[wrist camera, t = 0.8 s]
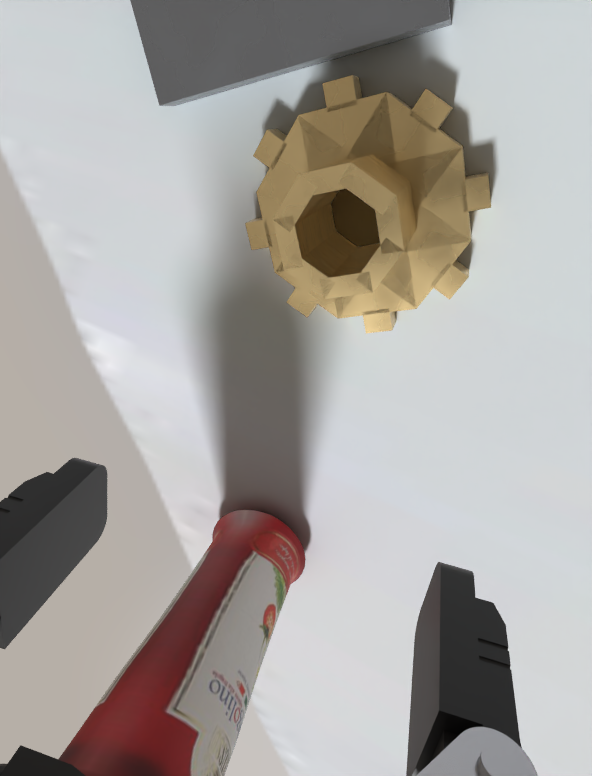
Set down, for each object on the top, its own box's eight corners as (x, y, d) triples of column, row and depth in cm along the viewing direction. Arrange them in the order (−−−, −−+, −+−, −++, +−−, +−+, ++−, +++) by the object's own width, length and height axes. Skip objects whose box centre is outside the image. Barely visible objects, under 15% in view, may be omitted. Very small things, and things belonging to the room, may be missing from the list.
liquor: (322, 579, 40) (84, 1273, 16) (231, 575, 43) (-92, 1168, 19) (301, 495, 38) (-23, 1178, 13) (205, 495, 40) (-212, 1071, 16)
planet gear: (477, 44, 24) (476, 22, 19) (499, 309, 29) (503, 356, 23) (230, 112, 28) (168, 112, 23) (282, 334, 33) (241, 379, 27)
